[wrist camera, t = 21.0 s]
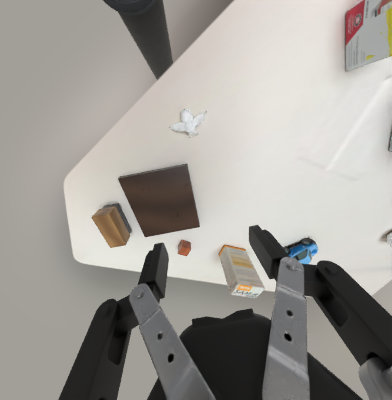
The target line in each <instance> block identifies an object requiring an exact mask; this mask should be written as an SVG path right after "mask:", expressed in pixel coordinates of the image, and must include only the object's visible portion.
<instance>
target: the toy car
mask: <svg viewBox="0 0 392 400" xmlns="http://www.w3.org/2000/svg"><path fill="white" fill-rule="evenodd" d="M301 242H302V243H299V244H297V245H295V246H292V247H290V248H289V249H288V248H286V247H285V248H283V249H284V250H285V251H286V252H287V254H288V255H289V256H290V257H291V258H294V259H296V260H298V261H299V262H300V263H303V264H309V263H310V262H311V259H312V256H314V255H315V254H316V253H317V251H318V247H317V245H316V242H315V241H313V240H312V239H303V240H302V241H301ZM304 242H305V243H304ZM289 250H290V251H289Z"/></svg>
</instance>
